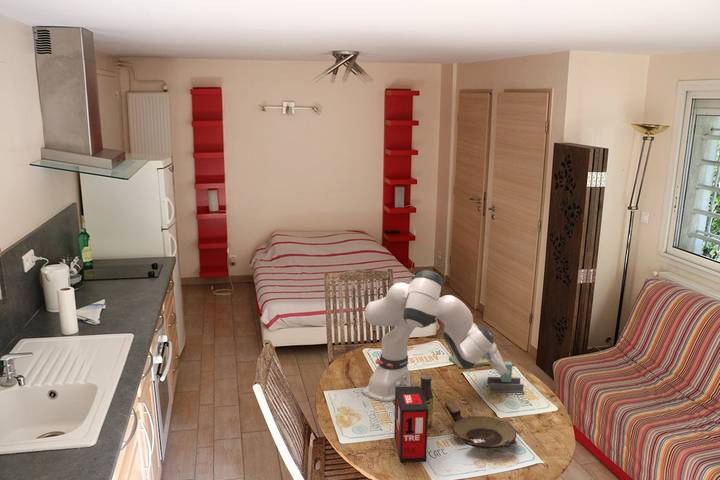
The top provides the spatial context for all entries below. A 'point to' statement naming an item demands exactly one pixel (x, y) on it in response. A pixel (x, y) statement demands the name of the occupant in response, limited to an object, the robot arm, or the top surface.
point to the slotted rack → (504, 385)
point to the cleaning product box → (410, 424)
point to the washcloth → (477, 364)
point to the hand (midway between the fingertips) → (507, 371)
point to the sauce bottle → (427, 396)
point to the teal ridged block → (506, 377)
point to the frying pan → (482, 430)
